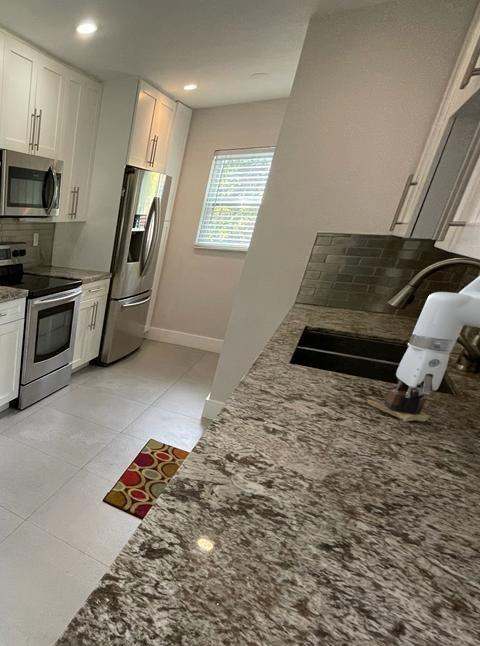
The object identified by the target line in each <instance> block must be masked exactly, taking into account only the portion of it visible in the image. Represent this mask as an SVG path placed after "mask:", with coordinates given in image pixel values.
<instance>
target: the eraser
mask: <svg viewBox="0 0 480 646" xmlns="http://www.w3.org/2000/svg"><path fill="white" fill-rule="evenodd" d="M413 392H414V391H413ZM413 392H412V393H413ZM406 393H407V391H400V390H396V389H392V388H390V389H389V391H388V393H387V396H386V398H385V401H384V402H385V403H384V405H385V406H387V407H388V408H389V409H391V410H397V411H398V407H399V405H400V403H401V400H402V398H403V397H406ZM427 399H428V398H427V396H424V397H423V399H422V400H421V401H420V402H419V404H418V407H417V409H416V411H415V413H416V414H420V412H422V410H423V409H424V406H425V404H426V402H427Z"/></svg>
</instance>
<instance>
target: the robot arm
mask: <svg viewBox="0 0 480 646" xmlns="http://www.w3.org/2000/svg"><path fill="white" fill-rule="evenodd" d="M464 326H469V327H473V328H474V327H475V328H480V275H479V276H478V277H476V278H475V279H474V280H473V281H471V282H470V283H469V284H467V285H466V286H465V287H464V288H462V289H461V290H460V291H459V292H448V291H437V292H433V293H431V294H429V296H428V297H427V299H426V301H425V303H424V305H423V307H422V310H421V312H420V315H419V317H418V318H417V322H416V324H415V326H414V328H413V331H412V333H411V336H410V338H409V341H408V343H407V349H406V351H405V353H404V354H403V356H402V358H401V360H400V362H399V364H398V367H397V369H396V373H395V376H396V378H397V385H396V386H395V389H394V390H400V391H407V393H406V397H403V398H402V400H401V403H400V405H399V407H398V411H399V412H405V413H411V414H414V413H415V411H416V409H417V407H418V404H419V402H420V401H421V400H422V399H423V397H428V396H430V394H431V392H436V391H437V390H438V389H439V387H440V386H441V383H442V381H443V378H444V375H445V373H446V370H447V367H448V364H449V359H450V354H451V353H452V351H453V349H454V347H455V344H456V342H457V341H458V338H459V336H460V334H461V333H462V332H461V331H462V330H463V327H464ZM412 392H413V393H412Z"/></svg>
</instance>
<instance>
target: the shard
mask: <svg viewBox="0 0 480 646" xmlns="http://www.w3.org/2000/svg"><path fill="white" fill-rule="evenodd" d="M366 401H367V402H366V403H367V405H370V406H372V407H374V408H377V409H379V410H381V411H383V412H385V413H388V414H389V415H391V416H394V417H396V418H398V419H401V420H402V421H403V422H411V421H417V422H426V421H427V420H428V419H430V418H431V415H429V414H427V413H425V412H422V411H421V412H420V414H416V413H414V414H411V413H405V412H399V411H397V410H391V409H389V408H388V407H387V406H385V405H384V403H385V401H380V400H375V399H372V398H371V399H370V398H366Z"/></svg>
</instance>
